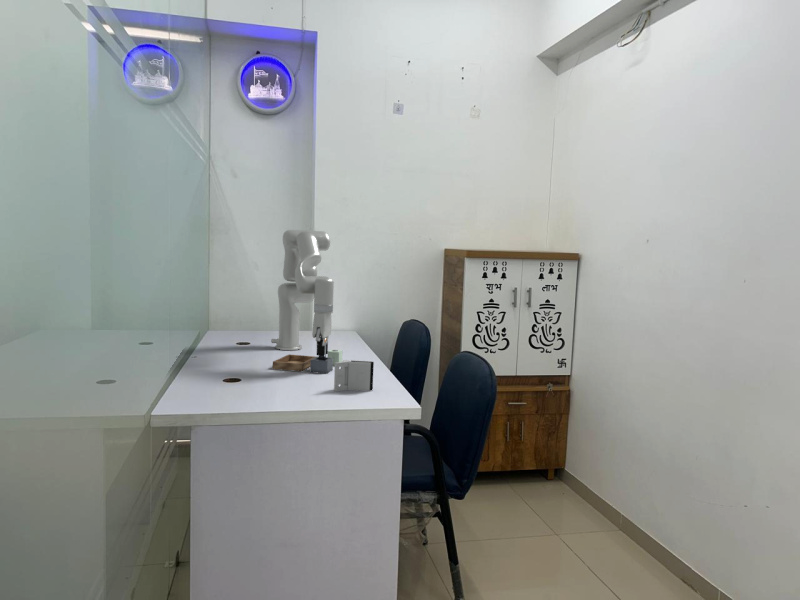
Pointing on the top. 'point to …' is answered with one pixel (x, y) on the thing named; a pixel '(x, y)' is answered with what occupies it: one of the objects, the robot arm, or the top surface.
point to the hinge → (353, 375)
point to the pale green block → (335, 355)
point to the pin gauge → (325, 351)
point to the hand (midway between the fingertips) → (322, 354)
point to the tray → (293, 362)
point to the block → (321, 365)
